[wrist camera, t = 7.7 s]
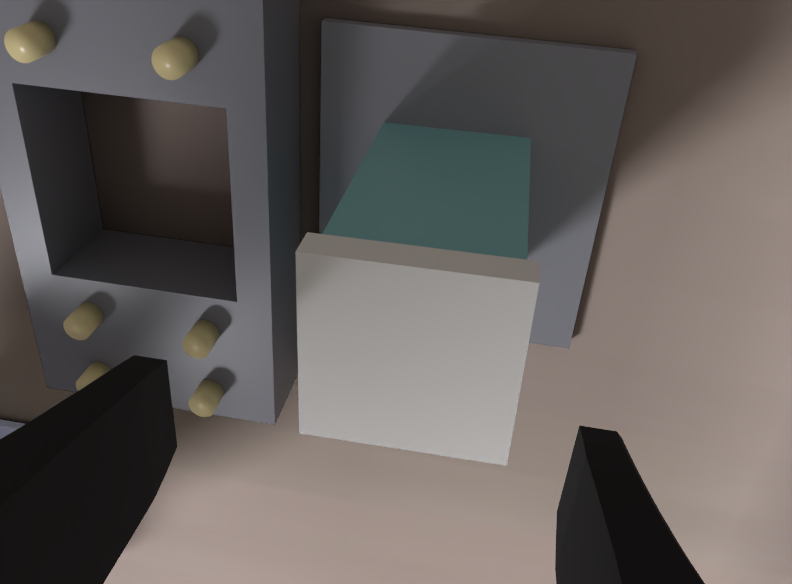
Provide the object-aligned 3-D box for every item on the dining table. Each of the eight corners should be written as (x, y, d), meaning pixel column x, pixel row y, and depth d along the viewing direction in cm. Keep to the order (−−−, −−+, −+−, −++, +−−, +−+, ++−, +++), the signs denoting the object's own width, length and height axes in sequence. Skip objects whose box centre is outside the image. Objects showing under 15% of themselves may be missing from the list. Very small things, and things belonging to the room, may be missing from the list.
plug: (516, 274, 22) (506, 465, 15) (371, 255, 23) (299, 433, 16) (539, 131, 20) (539, 283, 13) (376, 114, 20) (295, 251, 14)
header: (301, 367, 26) (267, 442, 23) (94, 335, 27) (33, 403, 23) (298, -100, 18) (247, -88, 15) (10, -126, 19) (-98, -119, 16)
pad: (568, 341, 23) (568, 348, 23) (321, 304, 24) (318, 311, 24) (635, 50, 19) (637, 54, 18) (325, 17, 20) (321, 21, 19)
